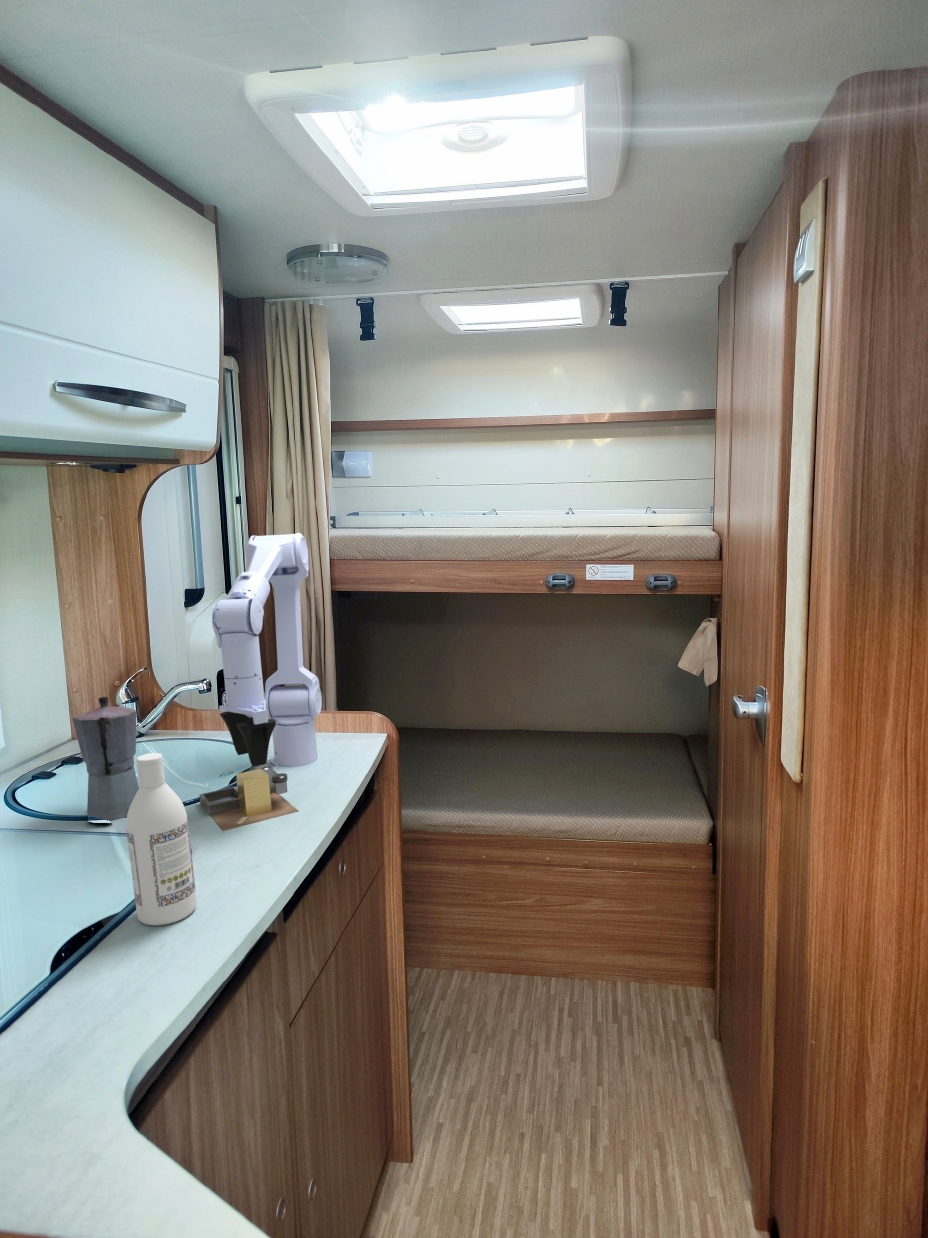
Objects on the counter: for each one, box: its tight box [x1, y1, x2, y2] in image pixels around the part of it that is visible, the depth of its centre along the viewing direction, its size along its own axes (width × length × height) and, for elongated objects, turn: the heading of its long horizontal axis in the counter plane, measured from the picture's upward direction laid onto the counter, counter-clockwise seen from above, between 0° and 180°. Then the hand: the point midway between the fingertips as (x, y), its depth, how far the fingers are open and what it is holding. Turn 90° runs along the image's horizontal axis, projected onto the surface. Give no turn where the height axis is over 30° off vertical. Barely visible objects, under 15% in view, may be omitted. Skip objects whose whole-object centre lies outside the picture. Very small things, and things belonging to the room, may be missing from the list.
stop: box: [235, 769, 272, 817], centre depth 126 cm, size 4×4×6 cm
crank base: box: [199, 785, 299, 832], centre depth 128 cm, size 14×12×3 cm
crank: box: [254, 763, 289, 795], centre depth 131 cm, size 11×3×5 cm, turn 32°
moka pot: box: [72, 696, 140, 822], centre depth 128 cm, size 10×15×20 cm, turn 25°
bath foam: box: [125, 752, 198, 926], centre depth 96 cm, size 7×7×20 cm
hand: (251, 759), depth 125 cm, fingers open, 7 cm apart
